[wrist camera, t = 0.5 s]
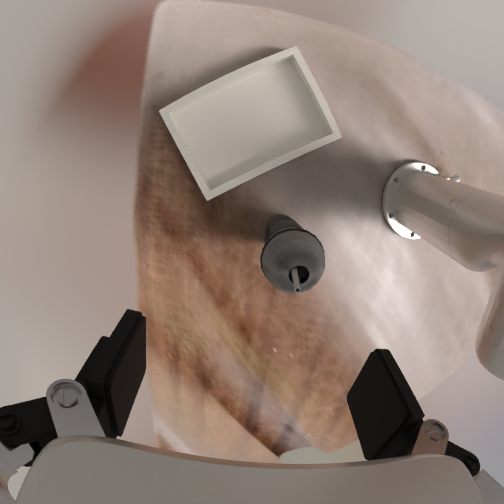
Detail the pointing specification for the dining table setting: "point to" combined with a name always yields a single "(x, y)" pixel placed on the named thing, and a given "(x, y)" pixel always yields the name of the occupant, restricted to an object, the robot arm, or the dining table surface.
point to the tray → (250, 121)
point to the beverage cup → (291, 256)
